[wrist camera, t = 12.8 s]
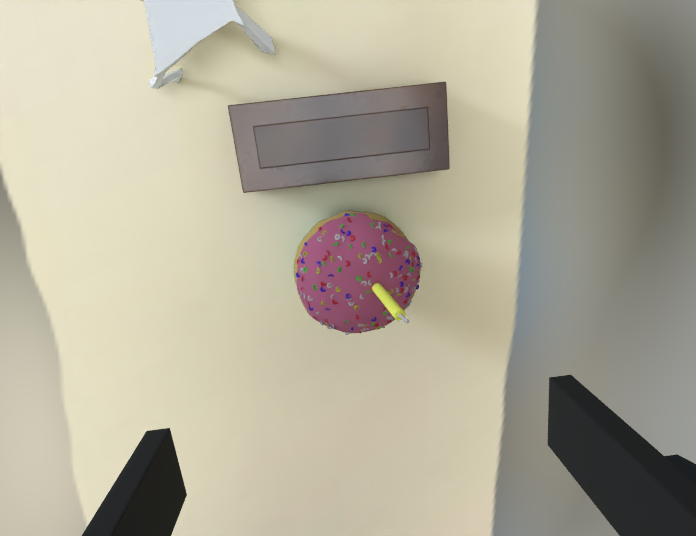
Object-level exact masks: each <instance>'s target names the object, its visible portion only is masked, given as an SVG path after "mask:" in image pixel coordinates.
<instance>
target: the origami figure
mask: <svg viewBox="0 0 696 536" xmlns="http://www.w3.org/2000/svg"><path fill="white" fill-rule="evenodd" d="M141 1H144V2H145V7H146V13H147V18H148V24H149V30H150V35H151V41H152V46H153V52H154V57H155V63H156V69H155V75H154V76H155V77H153V78H152V79H151V80H150V88H154V89H159V88H160V87H162V86H164V85H165V84H167V83H169V82H171V81H172V80H173V82H176V83H178V82H179V80H180V79H181V77H182V75H183V70H182V68H181V69H178V70H176V71H173V72H171V73H168V74H166V75H164V74H165V72H166V71H167V70H169V69H170V68H171V67H172V66H173V65H174V64H176V63H177V62H178V61H179V60H180V59H181V58H182V57H184V56H185V55H186V54H187V53H188V52H189V51H190V50H191V49H192V48H193V47H194V46H195V45H196V44H197V43H199V42H200V41H202V40H203V39H204V38H206V37H207V36H209V35H210V34H211V33H213V32H214V31H216V30H217V29H219V28H221V27H222V26H224V25H225V24H227V23H228V22H230V21H231V20H233V21H235V22H237V23H238V24H239V25H240V26H241V27H242V28H243V29H244V31H245V33H246V34H247V35H248V36H249V37H250V38H251V40H252V41H253V42H254V43H255V44H256V45H257V47H258V48H259V49H260V50H261V51H262V52H267V53H272V54H275V50H274V46H273V42H272V38H271V36H270V35H269V34H268V33H267V32H265V31H264V30H263V29H262V28H261V27H260V26H259V25H257V24H256V23H255V22H254V21H253V20H252V19H251V18H250V17H248V16H247V15H246V14H245V13H244V12H243V11H242V10H241V9H239V8H238V7H237V6H236V5H235V3H234V0H141Z"/></svg>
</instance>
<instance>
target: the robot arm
mask: <svg viewBox="0 0 696 536" xmlns="http://www.w3.org/2000/svg"><path fill="white" fill-rule="evenodd" d="M548 416H549V417H548V446H549V447H550V448H551V449H552V451H553V452H554V453H555V454H556V456H557V457H558V458H559V459H560V461H561V462H562V463H563V465H564V466H565V467H566V468H567V470H568V471H569V472H570V473H571V475H572V476H573V477H574V478H575V480H576V481H577V482H578V484H579V485H580V486H581V487H582V489H583V490H584V491H585V492H586V494H587V495H588V496H589V497H590V499H591V500H592V501H593V502H594V504H595V505H596V506H597V508H598V509H599V510H600V511H601V512H602V514H603V515H604V516H605V518H606V519H607V520H608V521H609V523H610V524H611V525H612V526H613V528H614V529H615V530H616V532H617V533H618V534H619V535H620V536H696V464H694V463H692V462H691V461H688V460H687V459H685V458H683V457H681V456H679V455H671V456H663V455H662V454H661V453H660V452H658V450H656V449H655V448H654V447H653V446H652V445H651V444H649V443H648V442H647V441H646V440H645V439H644V438H643V437H641V436H640V435H639V434H638V433H637V432H636V431H635V430H633V429H632V428H631V427H630V426H629V425H628V424H626V423H625V422H624V421H623V420H622V419H621V418H620V417H618V416H617V415H616V414H615V413H614V412H613V411H612V410H611V409H609V408H608V407H607V406H605V404H604V403H602V402H601V401H600V400H599V399H598V398H597V397H596V396H594V395H593V394H592V393H591V392H590V391H589V390H588V389H586V388H585V387H584V386H583V385H582V384H581V383H579V382H578V381H577V380H576V379H575V378H574V377H573V376H571V375H566V376H558V377H551V378H549V415H548ZM186 495H187V494H186V490H185V486H184V482H183V478H182V474H181V470H180V466H179V462H178V459H177V455H176V451H175V447H174V443H173V439H172V435H171V431H170V428H167V429H159V430H152V431H147V432H146V433H145V435H144V436H143V438H142V440H141V441H140V443H139V444H138V446H137V448H136V449H135V451H134V452H133V454H132V456H131V457H130V459H129V461H128V462H127V464H126V465H125V467H124V469H123V470H122V472H121V473H120V475H119V477H118V478H117V480H116V481H115V483H114V485H113V486H112V488H111V489H110V491H109V493H108V494H107V496H106V498H105V499H104V501H103V502H102V504H101V506H100V507H99V509H98V510H97V512H96V514H95V515H94V517H93V518H92V520H91V522H90V523H89V525H88V526H87V528H86V530H85V531H84V533H83V535H82V536H171V534H172V532H173V529H174V526H175V524H176V521H177V519H178V516H179V513H180V511H181V508H182V506H183V503H184V501H185V498H186Z"/></svg>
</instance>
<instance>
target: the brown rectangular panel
mask: <svg viewBox="0 0 696 536" xmlns="http://www.w3.org/2000/svg"><path fill="white" fill-rule="evenodd" d="M228 109H229V115H230V121H231V126H232V132H233V138H234V143H235V149H236V155H237V160H238V166H239V172H240V177H241V183H242V189H243V192H244V193H246V192H255V191H264V190H272V189H281V188H290V187H298V186H307V185H316V184H324V183H333V182H342V181H351V180H359V179H368V178H377V177H385V176H394V175H403V174H411V173H420V172H429V171H438V170H446V169H449V144H448V118H447V92H446V82H439V83H429V84H420V85H411V86H402V87H393V88H384V89H374V90H365V91H356V92H347V93H338V94H329V95H319V96H310V97H301V98H292V99H283V100H274V101H264V102H255V103H246V104H237V105H229V106H228Z"/></svg>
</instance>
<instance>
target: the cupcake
mask: <svg viewBox="0 0 696 536" xmlns="http://www.w3.org/2000/svg"><path fill="white" fill-rule="evenodd" d="M421 267H422V263H421V262H420V258H419V255H418V252H417V249H416V247H415V246H414V245H413V244H412V243H410V242H409V241H408V239H407V238H406V236H405V235H404V233H403V232H402V231H401V230H400V229H399V228H398V227H397V226H395V225H394V224H393V223H392V222H391V221H390V220H388V219H387V218H385V217H384V216H381V215H378V214H374V213H367V212H355V211H345V212H342V213H339V214H336V215H334V216H332V217H329V218H327V219H324V220H322V221H320V222H318V223H317V224H316V225H315V226H314V227H313V228H312V229H311V230H310V231H309V233H308V234H307V235H306V236H305V237H304V238H303V240H302V241H301V243H300V244H299V246H298V249H297V252H296V256H295V261H294V276H295V281H296V285H297V289H298V293H299V295H300V299H301V301H302V303H303V305H304V307H305V309H306V311H307V312H308V314H309V315H310V316H311V317H312V318H314V319H315V320H317V321H318V322H320V323H321V325H323V324H324V325H326V326H327V328H328V329H332V328H333V329H336V330H339V331H342V332H345V334H346V335H348V334H350V333H361V332H367V331H371V330H375V329H380V328H385V325H387V324H389V323H391V322H392V321H394V320H395V319H396V320H398V321H400V320H403V321H404V322H405V323H409V320H408V319H406V318H405V311H404V310H405V309H406V307H408V306H409V305H410V303H411V302H412V300H411V299H412V298H413V296H414V293H415V291H416V289H418V288H419V285H418V283H419V282H420V281H419V278H420V270H421ZM417 286H418V288H417ZM329 327H331V328H329ZM347 333H348V334H347Z"/></svg>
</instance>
